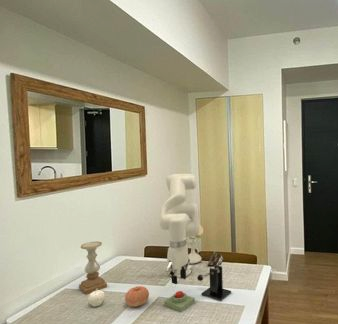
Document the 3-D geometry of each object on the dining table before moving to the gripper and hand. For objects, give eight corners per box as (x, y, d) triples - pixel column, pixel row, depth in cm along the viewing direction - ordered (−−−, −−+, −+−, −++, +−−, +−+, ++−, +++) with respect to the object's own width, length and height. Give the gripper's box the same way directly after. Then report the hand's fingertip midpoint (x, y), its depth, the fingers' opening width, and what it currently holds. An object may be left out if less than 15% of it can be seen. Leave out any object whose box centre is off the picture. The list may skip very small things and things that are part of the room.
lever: (197, 282, 144) (195, 276, 145) (201, 280, 147) (199, 274, 148) (217, 274, 137) (214, 268, 138) (221, 272, 140) (218, 266, 141)
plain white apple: (93, 310, 128) (93, 293, 128) (85, 306, 132) (84, 289, 131) (108, 303, 134) (107, 287, 134) (99, 299, 138) (99, 283, 137)
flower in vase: (187, 266, 175) (186, 227, 175) (182, 260, 185) (181, 223, 185) (206, 262, 181) (205, 225, 181) (201, 256, 191) (200, 221, 191)
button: (173, 297, 131) (173, 293, 131) (179, 293, 134) (179, 290, 134) (179, 299, 129) (179, 295, 129) (184, 295, 132) (184, 292, 132)
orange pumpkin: (131, 298, 138) (130, 282, 138) (152, 298, 138) (152, 282, 137) (121, 310, 127) (120, 293, 127) (144, 310, 127) (143, 293, 127)
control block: (164, 305, 131) (164, 297, 131) (178, 296, 138) (177, 289, 138) (181, 311, 125) (181, 303, 125) (194, 302, 133) (194, 294, 132)
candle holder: (78, 287, 150) (76, 244, 149) (100, 280, 158) (98, 239, 157) (85, 294, 143) (83, 249, 142) (107, 286, 151) (105, 243, 150)
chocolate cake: (217, 268, 172) (224, 251, 179) (207, 265, 173) (214, 247, 180) (218, 273, 179) (225, 256, 186) (208, 270, 180) (215, 253, 188)
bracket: (201, 295, 139) (201, 268, 139) (212, 287, 147) (212, 262, 147) (220, 301, 133) (220, 273, 133) (231, 293, 141) (230, 266, 140)
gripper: (184, 237, 140) (185, 272, 141) (158, 247, 125) (159, 286, 126) (195, 239, 136) (196, 275, 137) (170, 250, 121) (171, 290, 122)
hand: (178, 280), depth 131 cm, fingers open, 5 cm apart
